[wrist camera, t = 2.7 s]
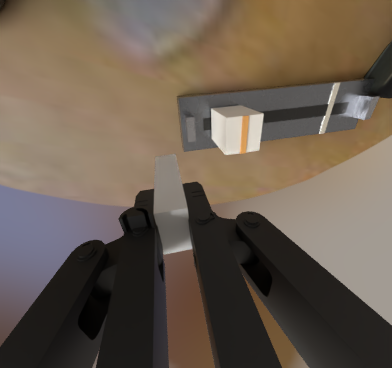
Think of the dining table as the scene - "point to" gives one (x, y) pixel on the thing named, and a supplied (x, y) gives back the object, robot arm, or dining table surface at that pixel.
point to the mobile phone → (382, 74)
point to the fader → (236, 129)
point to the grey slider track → (281, 110)
